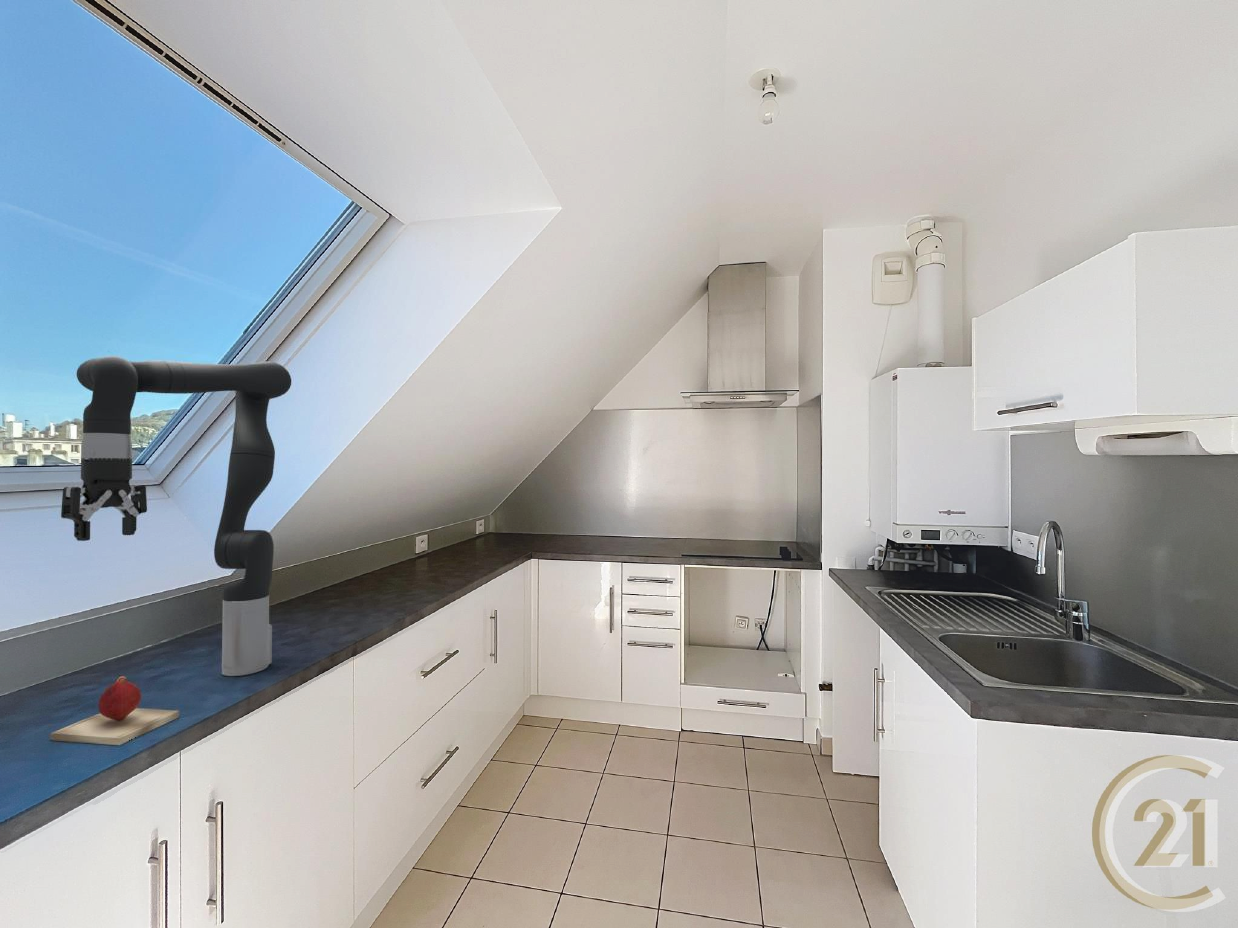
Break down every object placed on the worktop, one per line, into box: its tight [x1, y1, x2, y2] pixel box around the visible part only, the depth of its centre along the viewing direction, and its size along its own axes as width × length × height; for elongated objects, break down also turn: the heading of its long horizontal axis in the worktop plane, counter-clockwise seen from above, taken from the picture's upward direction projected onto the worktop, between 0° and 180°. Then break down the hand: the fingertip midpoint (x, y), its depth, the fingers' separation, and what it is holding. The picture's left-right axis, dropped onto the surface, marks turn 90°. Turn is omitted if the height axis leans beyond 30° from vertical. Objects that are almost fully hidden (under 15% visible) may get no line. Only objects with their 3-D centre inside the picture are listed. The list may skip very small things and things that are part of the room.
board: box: [50, 707, 180, 746], centre depth 100 cm, size 11×14×1 cm
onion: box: [97, 676, 142, 721], centre depth 101 cm, size 6×6×8 cm
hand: (106, 537), depth 109 cm, fingers open, 8 cm apart
